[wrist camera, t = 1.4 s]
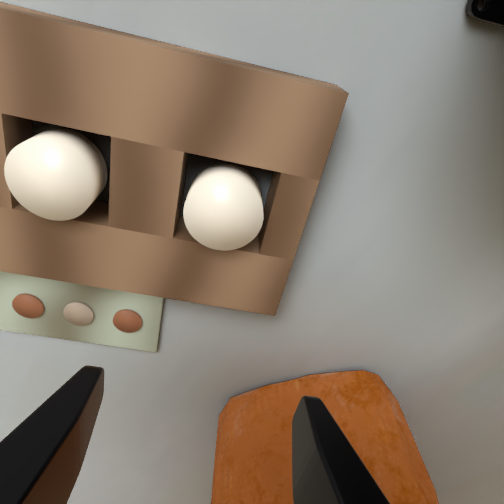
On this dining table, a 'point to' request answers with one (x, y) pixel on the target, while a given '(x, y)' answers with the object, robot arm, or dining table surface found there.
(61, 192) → the off-white egg
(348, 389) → the bread
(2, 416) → the dining table surface
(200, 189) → the white egg
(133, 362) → the dining table surface
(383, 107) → the dining table surface
